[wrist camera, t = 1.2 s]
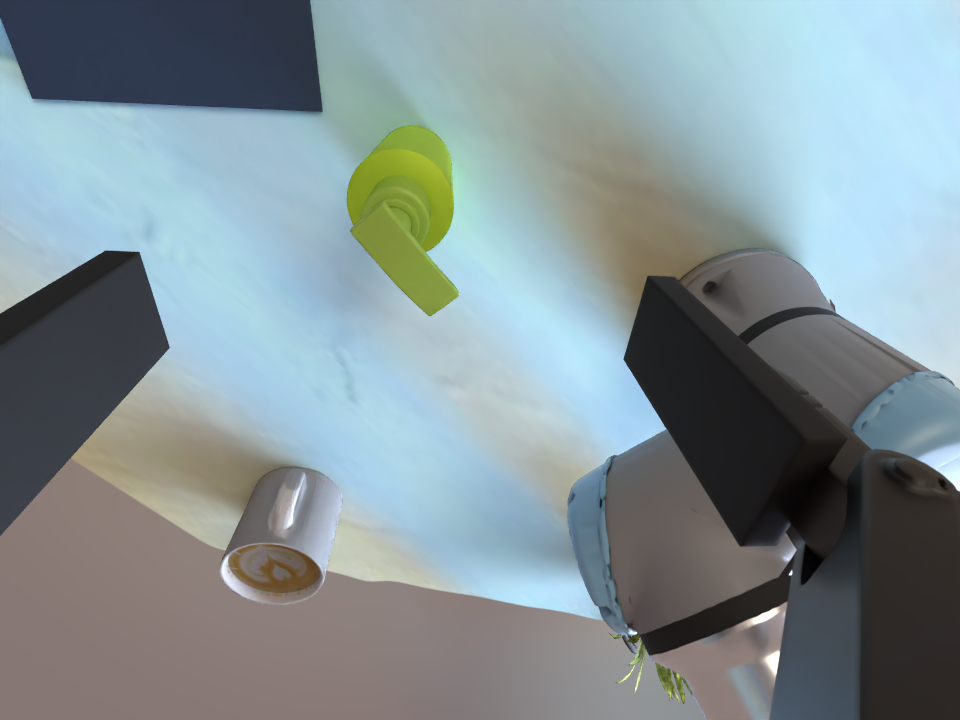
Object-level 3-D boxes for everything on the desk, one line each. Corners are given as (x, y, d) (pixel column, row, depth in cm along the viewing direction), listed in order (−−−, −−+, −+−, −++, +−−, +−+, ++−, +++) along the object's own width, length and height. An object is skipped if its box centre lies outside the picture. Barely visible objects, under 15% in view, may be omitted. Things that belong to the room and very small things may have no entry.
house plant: (709, 565, 67) (779, 694, 53) (633, 611, 72) (678, 740, 58) (649, 523, 62) (709, 654, 48) (571, 575, 66) (604, 709, 52)
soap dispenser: (418, 228, 40) (397, 344, 23) (360, 158, 37) (287, 231, 20) (474, 185, 38) (495, 274, 21) (418, 107, 35) (392, 139, 18)
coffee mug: (327, 535, 59) (307, 613, 50) (245, 513, 56) (209, 592, 48) (364, 462, 53) (349, 536, 45) (275, 433, 50) (240, 507, 42)
